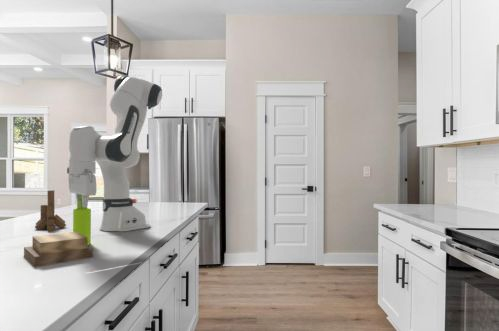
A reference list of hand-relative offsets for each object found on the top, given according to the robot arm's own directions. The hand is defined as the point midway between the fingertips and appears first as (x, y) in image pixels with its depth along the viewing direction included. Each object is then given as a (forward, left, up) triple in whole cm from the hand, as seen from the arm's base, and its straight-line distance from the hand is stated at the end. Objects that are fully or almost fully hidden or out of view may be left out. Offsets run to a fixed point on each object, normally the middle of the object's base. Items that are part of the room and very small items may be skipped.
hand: (82, 206), depth 127 cm
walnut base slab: (+11, +13, -15) cm, 23 cm away
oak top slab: (+11, +13, -11) cm, 20 cm away
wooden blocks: (0, -47, -15) cm, 49 cm away
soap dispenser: (0, 0, -14) cm, 14 cm away
